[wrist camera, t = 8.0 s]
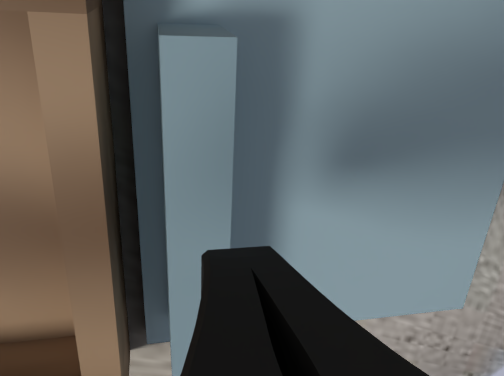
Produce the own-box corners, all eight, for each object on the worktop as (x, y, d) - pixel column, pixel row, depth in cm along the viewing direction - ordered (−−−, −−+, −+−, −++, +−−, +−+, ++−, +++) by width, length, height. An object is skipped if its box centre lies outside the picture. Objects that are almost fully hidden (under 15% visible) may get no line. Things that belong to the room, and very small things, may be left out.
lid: (444, 289, 18) (508, 357, 15) (147, 319, 16) (146, 409, 12) (531, -7, 13) (654, -1, 10) (123, -30, 11) (112, -33, 8)
